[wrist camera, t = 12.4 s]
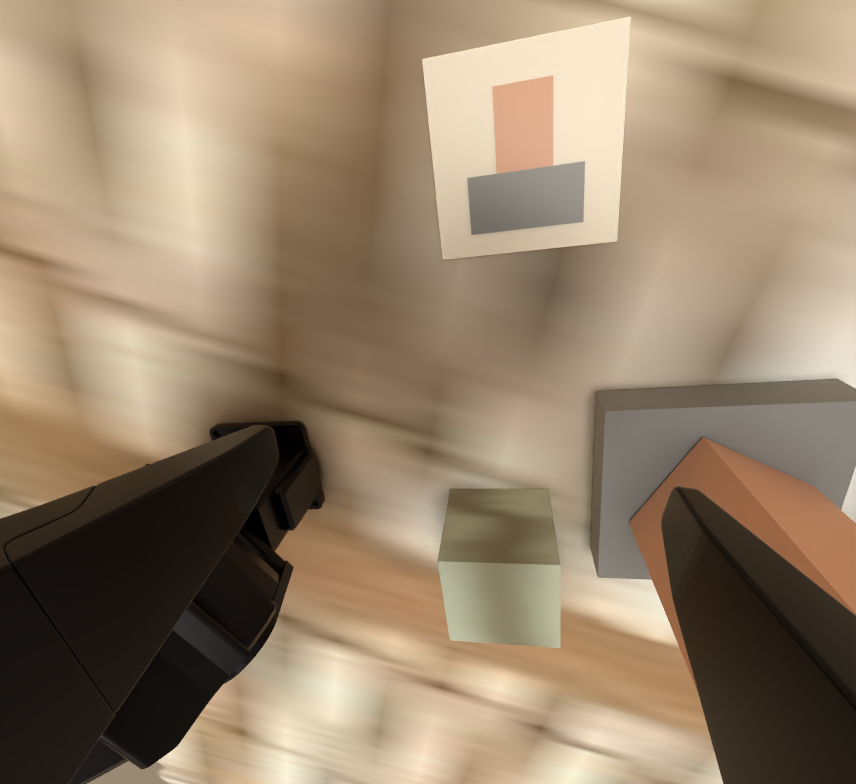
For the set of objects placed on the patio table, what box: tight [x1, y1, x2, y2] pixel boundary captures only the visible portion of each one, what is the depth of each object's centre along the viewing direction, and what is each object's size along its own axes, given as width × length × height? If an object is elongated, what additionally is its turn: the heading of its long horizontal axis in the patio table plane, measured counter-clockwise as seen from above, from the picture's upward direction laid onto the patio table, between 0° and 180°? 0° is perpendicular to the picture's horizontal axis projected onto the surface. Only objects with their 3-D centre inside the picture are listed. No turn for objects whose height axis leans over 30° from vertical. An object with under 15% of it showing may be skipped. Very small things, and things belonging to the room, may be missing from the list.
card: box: [422, 17, 631, 260], centre depth 18 cm, size 8×8×1 cm
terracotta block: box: [629, 437, 856, 691], centre depth 16 cm, size 6×6×12 cm
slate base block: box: [590, 379, 856, 579], centre depth 22 cm, size 11×11×3 cm
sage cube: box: [438, 489, 560, 648], centre depth 24 cm, size 6×6×6 cm
